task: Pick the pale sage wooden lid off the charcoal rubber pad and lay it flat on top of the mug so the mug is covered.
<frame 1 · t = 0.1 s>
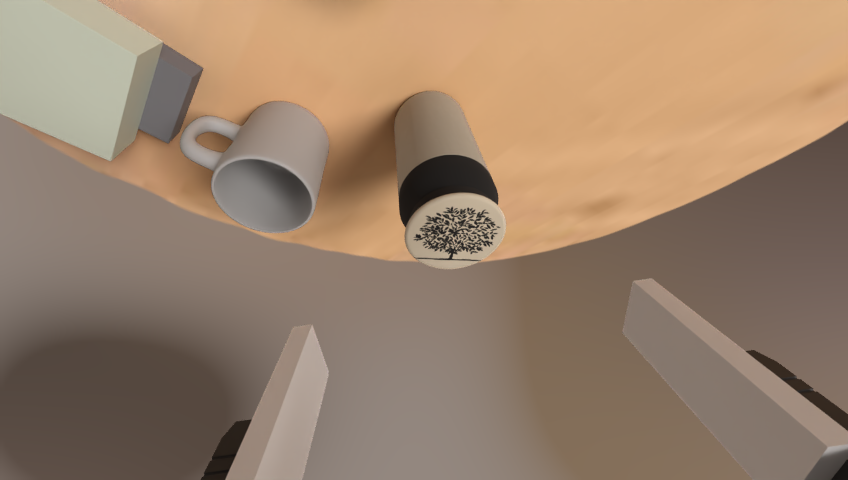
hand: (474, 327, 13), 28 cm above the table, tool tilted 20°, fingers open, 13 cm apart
mug: (274, 130, 35), on the table
lid: (42, 38, 25), point 2 cm above the table, touching mat
mat: (64, 30, 27), on the table
travel mug: (429, 125, 36), on the table
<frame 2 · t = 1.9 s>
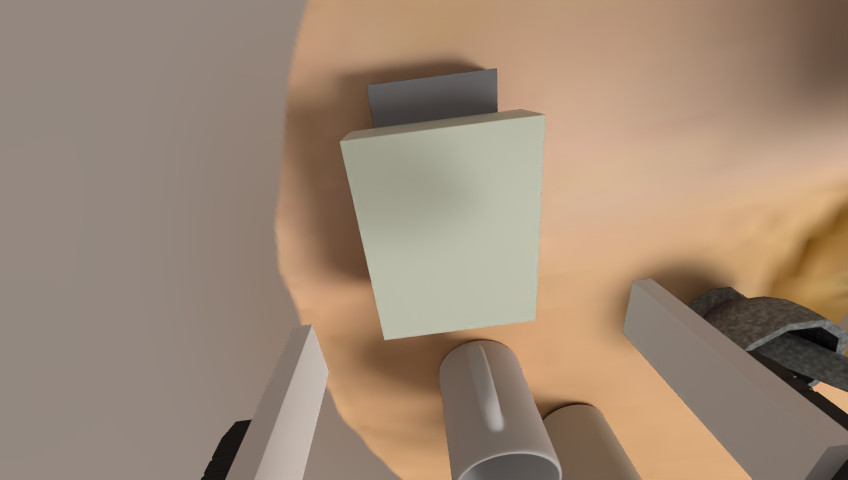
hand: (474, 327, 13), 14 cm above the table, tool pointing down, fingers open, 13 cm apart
mug: (475, 356, 34), on the table
lid: (445, 220, 24), point 2 cm above the table, touching mat
mat: (441, 208, 26), on the table
mortar and pestle: (717, 310, 33), on the table
travel mug: (568, 422, 39), on the table
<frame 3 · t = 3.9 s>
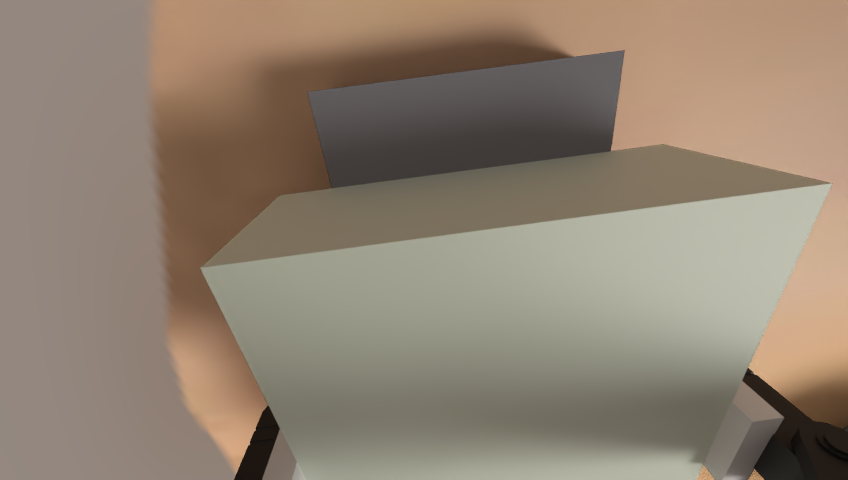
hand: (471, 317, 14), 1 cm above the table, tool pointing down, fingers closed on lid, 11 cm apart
lid: (481, 351, 12), point 3 cm above the table, touching gripper, mat
mat: (468, 309, 14), on the table
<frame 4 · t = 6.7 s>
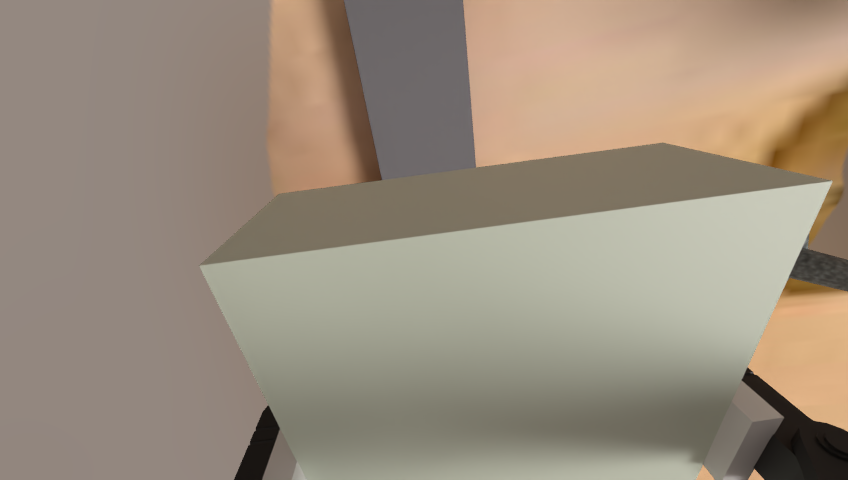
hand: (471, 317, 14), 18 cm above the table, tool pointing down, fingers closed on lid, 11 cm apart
lid: (481, 350, 12), point 20 cm above the table, touching gripper
mat: (420, 123, 28), on the table
mortar and pestle: (692, 229, 34), on the table
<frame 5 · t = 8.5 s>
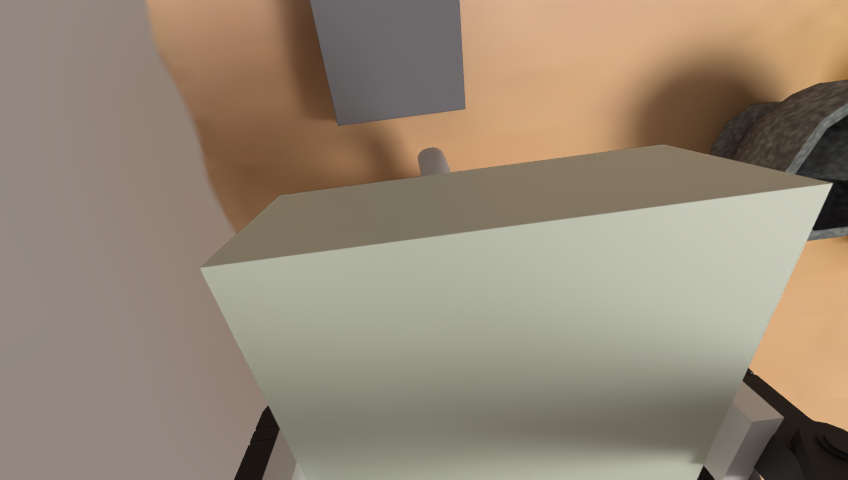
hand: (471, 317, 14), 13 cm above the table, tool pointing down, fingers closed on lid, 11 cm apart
mug: (440, 209, 26), on the table
lid: (481, 351, 12), point 15 cm above the table, touching gripper
mortar and pestle: (756, 143, 25), on the table
when the fingers open (11 cm above the table, at t = 9.8 s): lid drops 2 cm, resting on mug.
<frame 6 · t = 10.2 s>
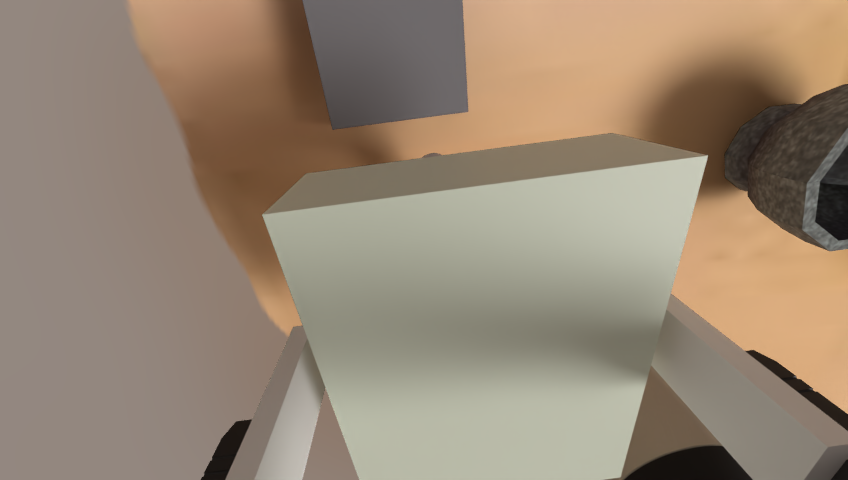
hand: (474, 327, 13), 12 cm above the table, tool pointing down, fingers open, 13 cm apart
lid: (469, 309, 15), point 11 cm above the table, touching mug
mortar and pestle: (772, 147, 24), on the table
travel mug: (569, 328, 30), on the table
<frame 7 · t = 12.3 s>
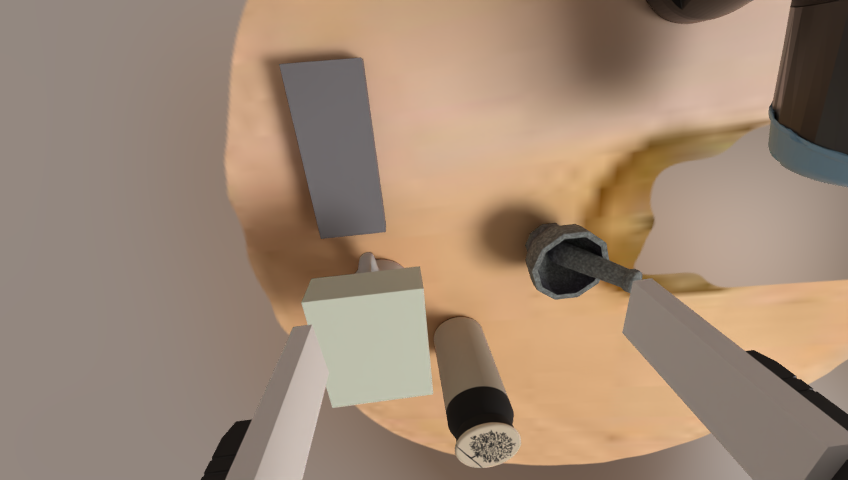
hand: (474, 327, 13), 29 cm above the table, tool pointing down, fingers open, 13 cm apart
mug: (378, 273, 46), on the table, touching lid
lid: (375, 326, 36), point 11 cm above the table, touching mug
mat: (341, 154, 38), on the table
mortar and pestle: (550, 241, 46), on the table
travel mug: (457, 334, 52), on the table
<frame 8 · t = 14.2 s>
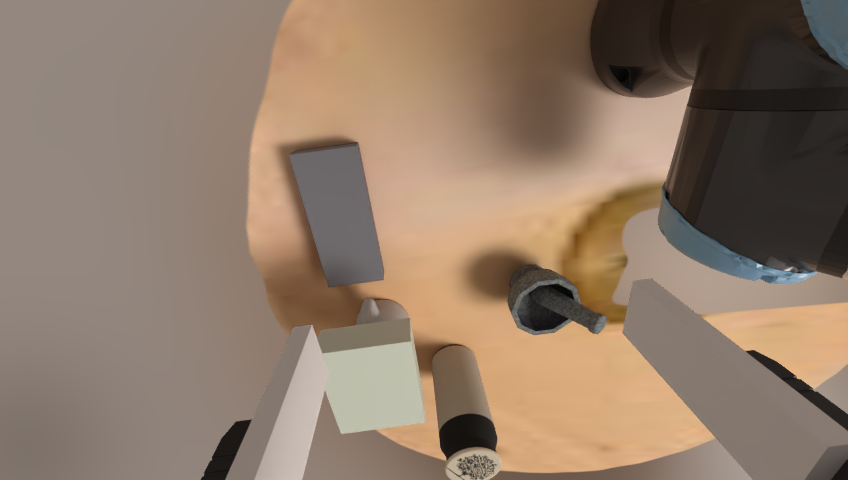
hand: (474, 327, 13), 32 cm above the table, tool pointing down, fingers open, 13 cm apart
mug: (380, 311, 52), on the table, touching lid
lid: (375, 365, 42), point 11 cm above the table, touching mug
mat: (343, 216, 44), on the table
mortar and pestle: (532, 280, 51), on the table
travel mug: (453, 359, 58), on the table
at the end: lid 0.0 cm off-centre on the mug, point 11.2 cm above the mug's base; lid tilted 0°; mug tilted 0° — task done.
